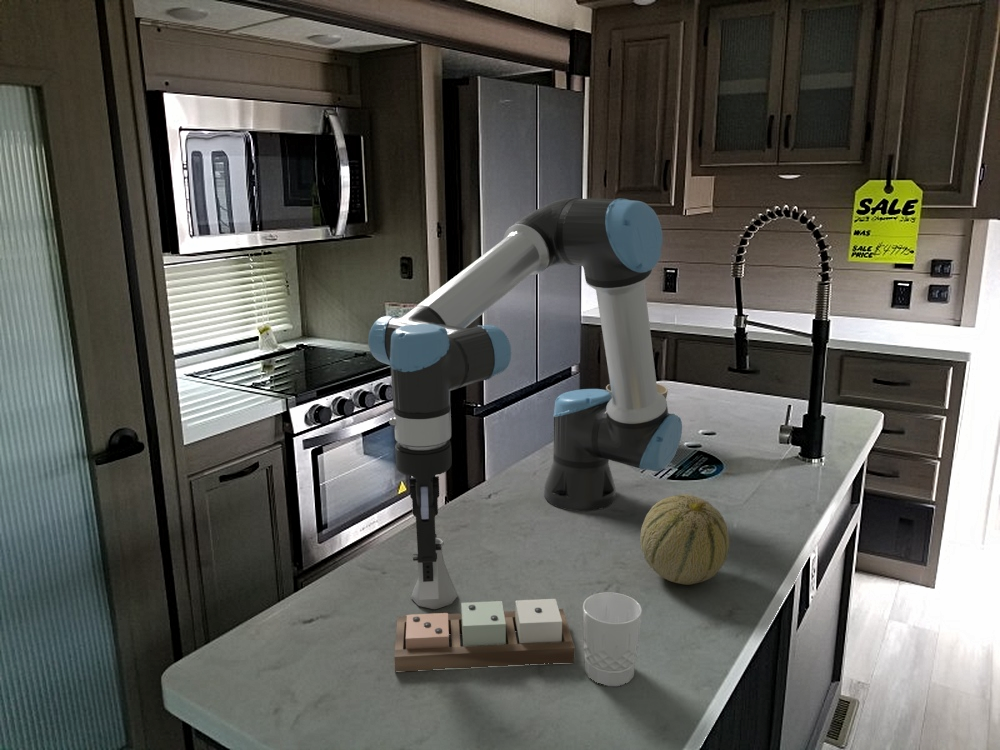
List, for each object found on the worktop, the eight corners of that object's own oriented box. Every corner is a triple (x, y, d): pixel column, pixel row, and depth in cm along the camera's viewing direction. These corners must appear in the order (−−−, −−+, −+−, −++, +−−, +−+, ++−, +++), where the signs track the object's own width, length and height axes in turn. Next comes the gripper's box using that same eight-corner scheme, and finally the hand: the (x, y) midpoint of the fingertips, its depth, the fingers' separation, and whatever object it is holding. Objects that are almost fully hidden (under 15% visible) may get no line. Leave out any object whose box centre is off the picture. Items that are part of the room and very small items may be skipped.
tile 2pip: (461, 622, 114) (461, 601, 113) (501, 620, 114) (501, 599, 113) (463, 646, 108) (462, 624, 107) (505, 644, 109) (505, 622, 108)
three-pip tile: (407, 633, 114) (406, 613, 113) (448, 632, 114) (447, 611, 113) (406, 658, 108) (405, 637, 107) (449, 656, 108) (448, 635, 107)
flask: (434, 581, 130) (432, 527, 127) (466, 596, 125) (465, 540, 123) (402, 599, 124) (400, 543, 122) (434, 615, 120) (433, 557, 117)
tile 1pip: (515, 619, 115) (515, 599, 114) (555, 617, 115) (555, 597, 114) (519, 643, 109) (519, 622, 108) (561, 641, 109) (562, 620, 108)
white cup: (631, 653, 110) (635, 591, 108) (643, 689, 103) (647, 623, 100) (577, 654, 110) (579, 592, 108) (585, 690, 102) (587, 624, 100)
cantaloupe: (652, 550, 141) (656, 473, 137) (734, 568, 134) (741, 489, 130) (626, 587, 128) (630, 504, 124) (715, 609, 121) (722, 522, 118)
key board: (398, 631, 116) (397, 616, 115) (562, 623, 118) (562, 608, 117) (395, 672, 106) (394, 656, 105) (574, 663, 108) (574, 647, 107)
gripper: (396, 425, 109) (404, 574, 115) (392, 459, 96) (400, 624, 103) (449, 423, 110) (454, 571, 116) (452, 457, 97) (456, 621, 103)
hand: (429, 596), depth 109 cm, fingers closed
